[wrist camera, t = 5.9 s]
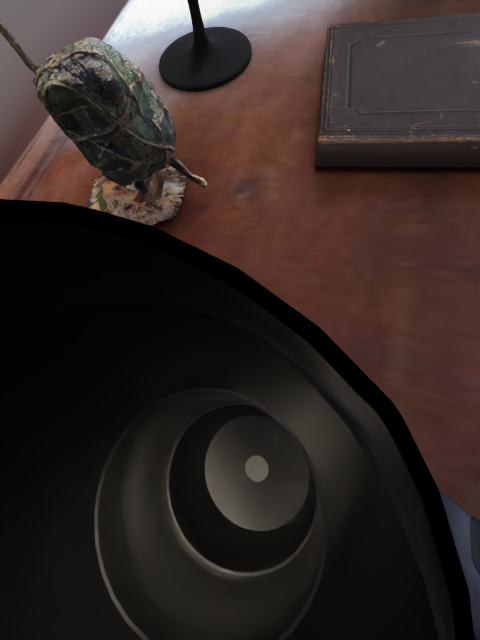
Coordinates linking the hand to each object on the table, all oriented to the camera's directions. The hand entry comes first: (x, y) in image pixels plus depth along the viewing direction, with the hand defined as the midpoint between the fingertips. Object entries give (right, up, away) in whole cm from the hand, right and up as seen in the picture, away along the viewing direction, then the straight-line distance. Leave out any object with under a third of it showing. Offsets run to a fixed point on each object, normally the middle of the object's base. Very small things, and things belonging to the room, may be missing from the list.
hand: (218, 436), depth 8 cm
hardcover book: (+19, +22, +18) cm, 34 cm away
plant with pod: (-7, +14, +19) cm, 24 cm away
